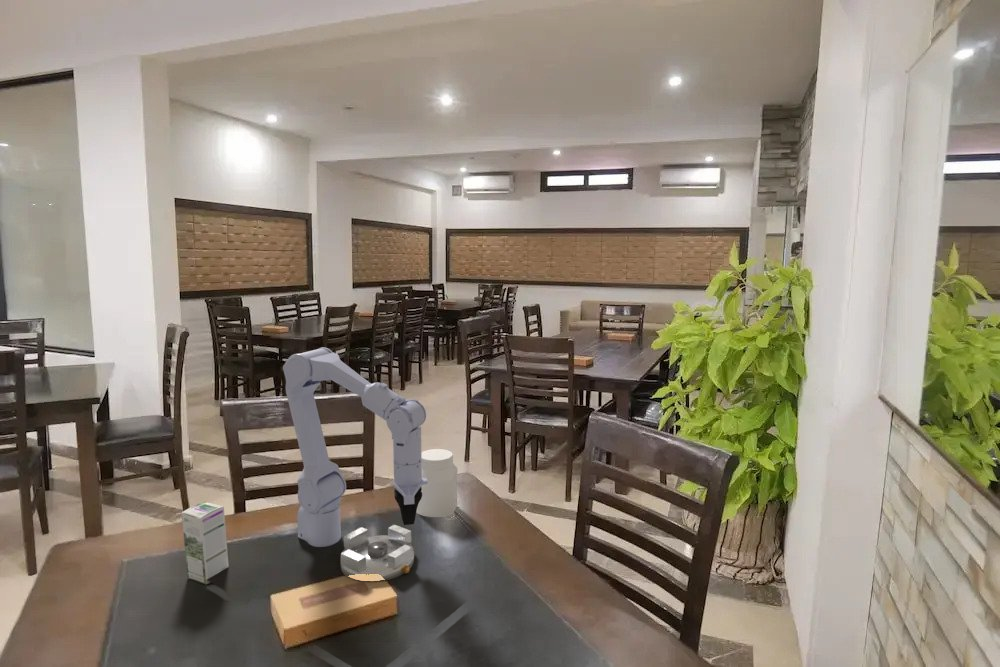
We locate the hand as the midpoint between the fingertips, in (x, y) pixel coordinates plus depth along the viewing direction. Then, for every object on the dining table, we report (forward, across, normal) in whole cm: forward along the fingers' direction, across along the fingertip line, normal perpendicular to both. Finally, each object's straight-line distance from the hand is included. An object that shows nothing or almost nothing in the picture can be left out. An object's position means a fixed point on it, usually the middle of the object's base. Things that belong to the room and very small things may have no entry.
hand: (408, 522), depth 124 cm
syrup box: (+10, +3, +40) cm, 42 cm away
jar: (+10, +24, -8) cm, 27 cm away
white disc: (+8, 0, +6) cm, 10 cm away
